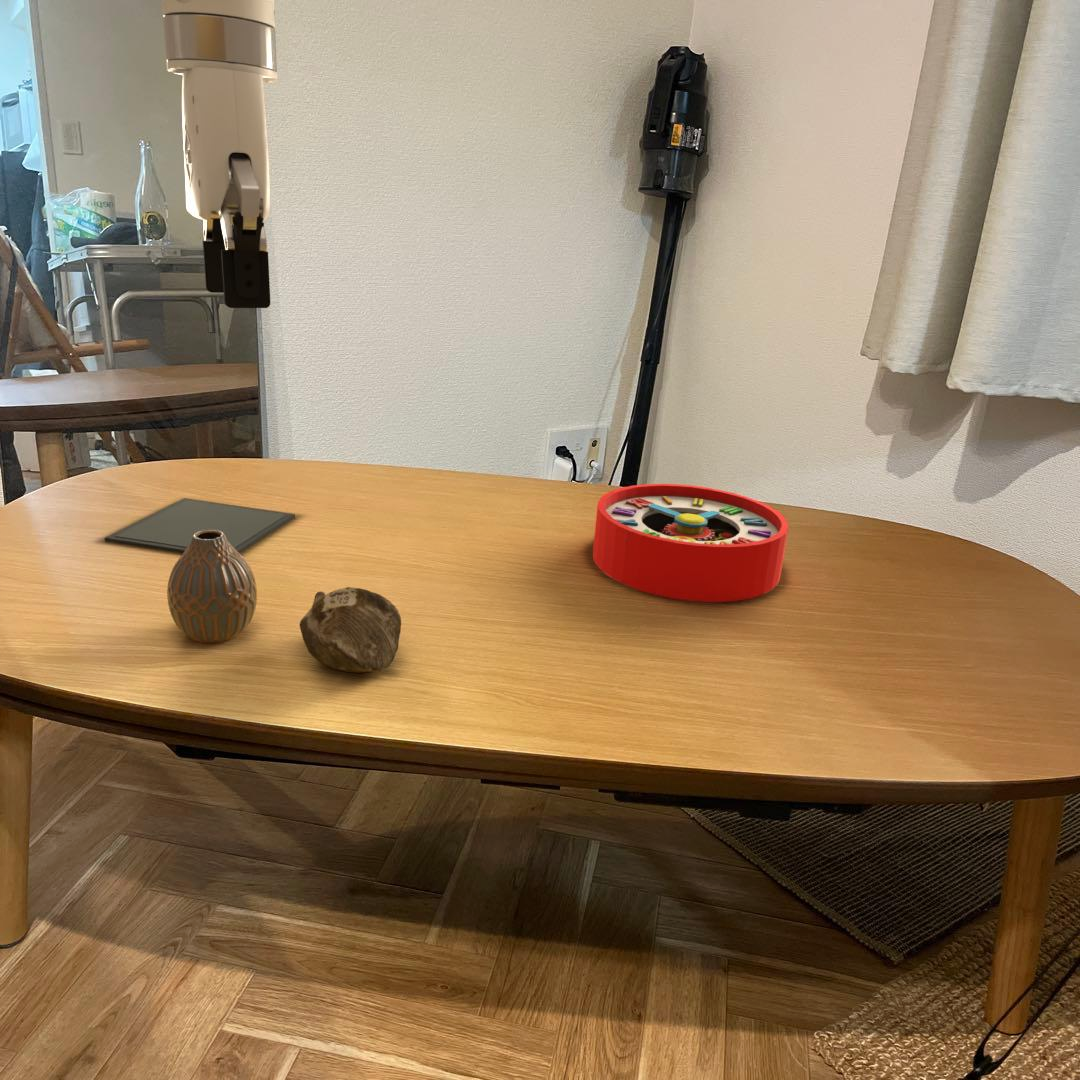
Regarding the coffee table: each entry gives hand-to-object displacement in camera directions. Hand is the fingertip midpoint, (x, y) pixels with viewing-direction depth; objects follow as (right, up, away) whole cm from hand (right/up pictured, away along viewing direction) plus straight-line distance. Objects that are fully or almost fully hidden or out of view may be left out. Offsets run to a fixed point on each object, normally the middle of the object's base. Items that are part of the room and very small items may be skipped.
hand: (236, 299), depth 70 cm
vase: (-3, -27, +5) cm, 27 cm away
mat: (-12, -18, +27) cm, 34 cm away
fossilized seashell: (+8, -29, +3) cm, 30 cm away
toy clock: (+39, -22, +26) cm, 52 cm away
